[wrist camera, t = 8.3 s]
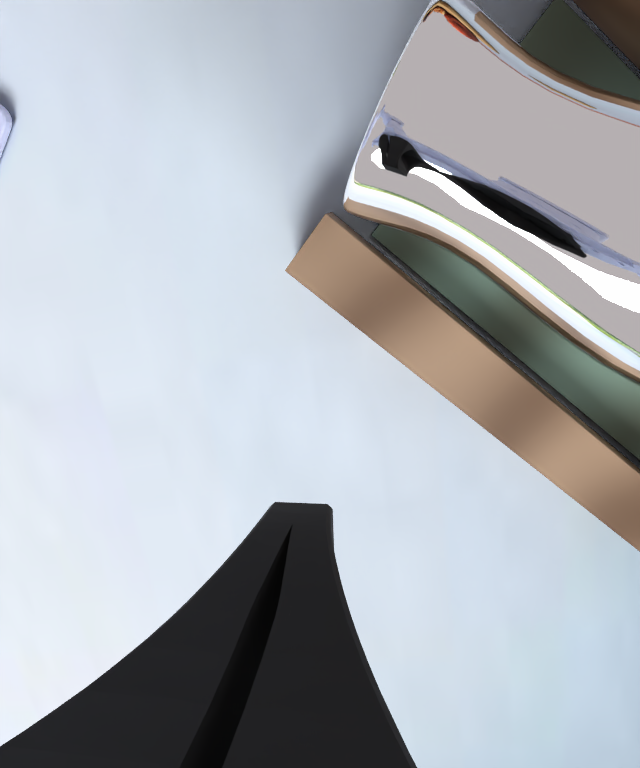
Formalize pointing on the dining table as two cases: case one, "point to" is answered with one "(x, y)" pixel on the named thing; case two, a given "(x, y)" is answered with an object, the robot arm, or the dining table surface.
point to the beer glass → (512, 177)
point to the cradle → (502, 312)
